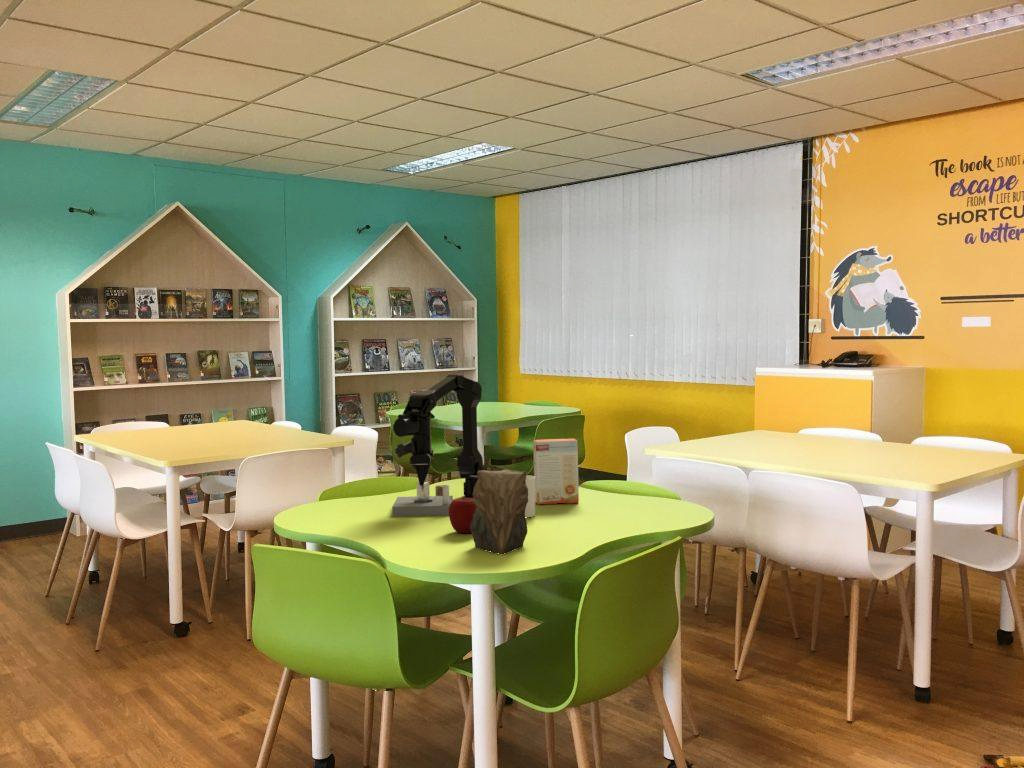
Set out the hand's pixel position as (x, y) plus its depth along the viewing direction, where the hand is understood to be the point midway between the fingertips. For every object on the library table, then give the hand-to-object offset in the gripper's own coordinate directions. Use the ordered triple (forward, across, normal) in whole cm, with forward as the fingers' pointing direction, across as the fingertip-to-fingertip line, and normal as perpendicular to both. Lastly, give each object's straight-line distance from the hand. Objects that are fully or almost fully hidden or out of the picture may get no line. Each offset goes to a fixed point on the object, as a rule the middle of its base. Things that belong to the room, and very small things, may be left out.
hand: (422, 482), depth 267 cm
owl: (+9, +50, +23) cm, 56 cm away
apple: (+9, +31, +14) cm, 35 cm away
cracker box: (+9, -8, +43) cm, 45 cm away
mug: (+9, +12, +30) cm, 34 cm away
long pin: (+9, 0, 0) cm, 9 cm away
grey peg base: (+9, 0, 0) cm, 9 cm away
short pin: (+9, -15, +5) cm, 18 cm away
